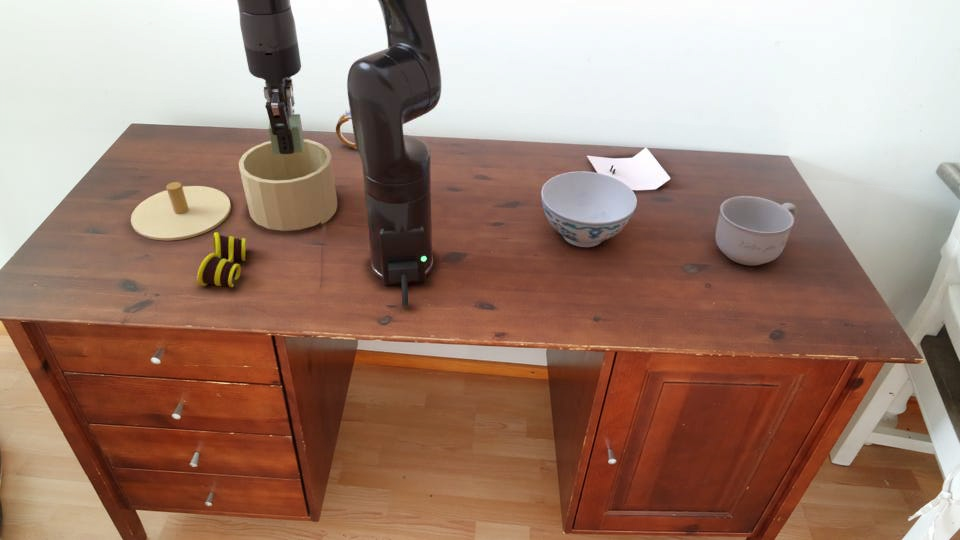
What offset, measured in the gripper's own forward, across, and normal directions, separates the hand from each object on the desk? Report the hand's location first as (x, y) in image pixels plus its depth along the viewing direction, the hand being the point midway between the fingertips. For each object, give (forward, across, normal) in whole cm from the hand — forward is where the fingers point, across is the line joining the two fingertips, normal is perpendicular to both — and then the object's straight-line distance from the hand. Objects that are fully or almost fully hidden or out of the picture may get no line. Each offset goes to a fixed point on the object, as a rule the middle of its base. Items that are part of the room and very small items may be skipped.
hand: (288, 144), depth 105 cm
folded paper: (+12, -4, +60) cm, 61 cm away
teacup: (+12, +22, +73) cm, 77 cm away
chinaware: (+12, +14, +46) cm, 50 cm away
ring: (+12, -19, +10) cm, 25 cm away
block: (0, 0, 0) cm, 0 cm away
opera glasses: (+12, +17, -9) cm, 23 cm away
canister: (+12, +1, -1) cm, 12 cm away
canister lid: (+11, +1, -19) cm, 22 cm away
